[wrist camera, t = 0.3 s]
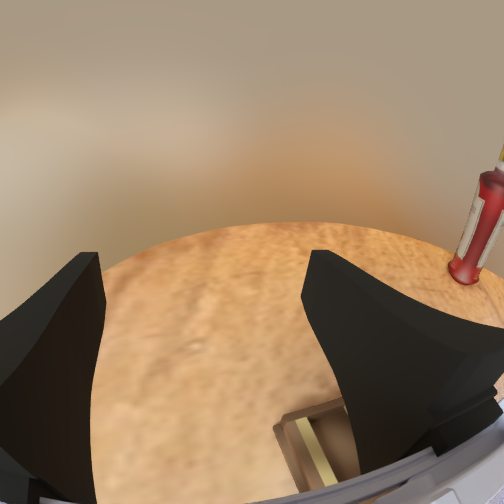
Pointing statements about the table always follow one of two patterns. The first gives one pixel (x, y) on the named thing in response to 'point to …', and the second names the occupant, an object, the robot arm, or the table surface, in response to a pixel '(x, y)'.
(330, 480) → the keyhole track
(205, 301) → the table surface
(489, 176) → the liquor
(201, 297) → the table surface
